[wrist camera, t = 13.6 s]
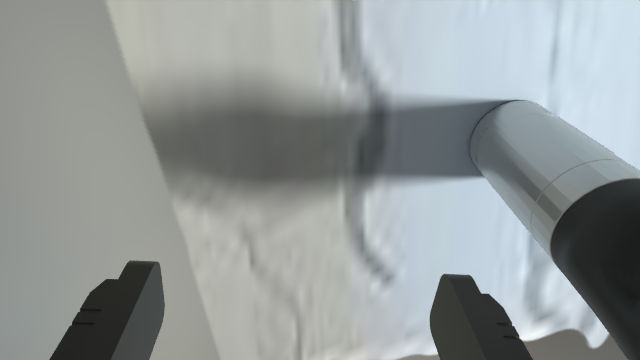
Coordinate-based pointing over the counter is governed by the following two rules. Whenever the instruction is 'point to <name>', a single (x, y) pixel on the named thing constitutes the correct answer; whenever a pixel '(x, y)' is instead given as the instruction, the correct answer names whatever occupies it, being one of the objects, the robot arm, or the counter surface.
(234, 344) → the counter surface
